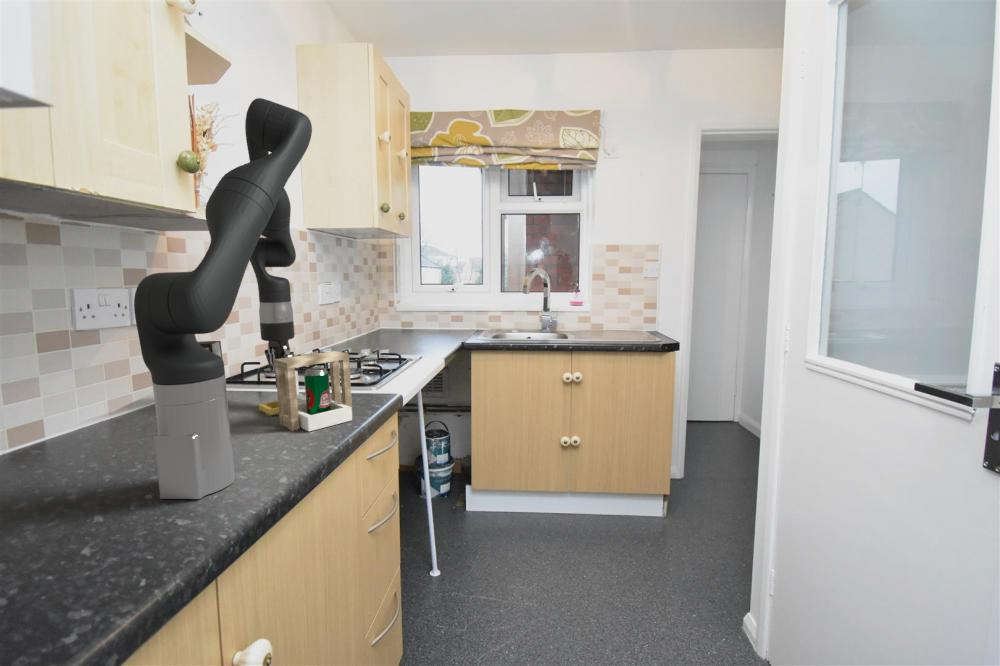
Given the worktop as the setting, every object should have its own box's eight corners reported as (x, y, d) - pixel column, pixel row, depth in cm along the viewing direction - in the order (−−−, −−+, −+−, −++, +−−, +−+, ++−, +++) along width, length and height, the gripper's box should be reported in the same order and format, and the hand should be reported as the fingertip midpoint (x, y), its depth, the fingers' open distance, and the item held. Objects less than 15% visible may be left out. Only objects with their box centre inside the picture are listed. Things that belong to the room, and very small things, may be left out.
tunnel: (292, 431, 98) (287, 362, 96) (279, 424, 102) (274, 359, 100) (352, 415, 108) (348, 353, 106) (338, 410, 112) (335, 350, 110)
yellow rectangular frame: (270, 416, 108) (269, 409, 108) (259, 411, 113) (258, 404, 113) (320, 405, 117) (319, 399, 117) (307, 400, 122) (307, 394, 122)
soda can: (326, 425, 101) (322, 371, 100) (303, 425, 102) (299, 371, 100) (335, 418, 106) (332, 366, 105) (313, 418, 107) (310, 367, 105)
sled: (308, 431, 97) (305, 389, 96) (268, 411, 112) (265, 375, 111) (352, 420, 104) (349, 380, 103) (309, 403, 119) (306, 368, 118)
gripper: (303, 320, 113) (308, 390, 115) (281, 317, 121) (285, 381, 124) (271, 323, 107) (277, 396, 110) (250, 319, 116) (256, 386, 118)
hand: (281, 388), depth 117 cm, fingers closed
